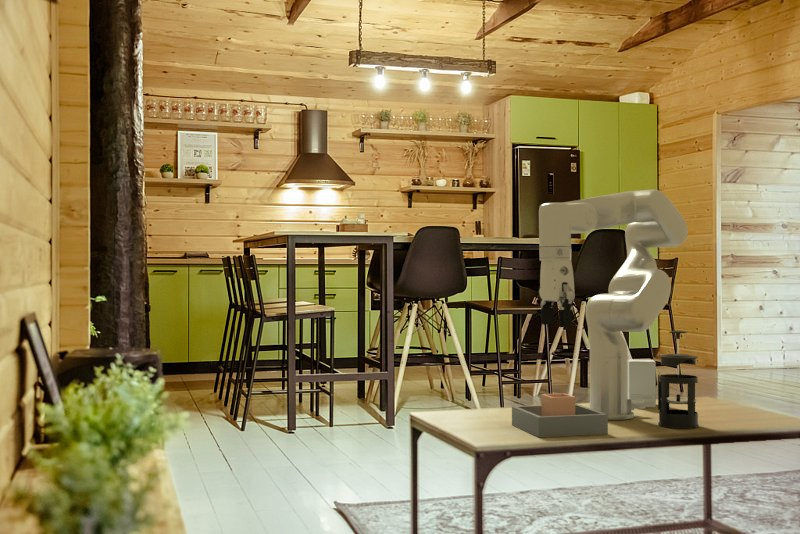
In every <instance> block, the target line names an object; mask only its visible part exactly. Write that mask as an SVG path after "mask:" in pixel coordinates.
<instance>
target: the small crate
mask: <svg viewBox="0 0 800 534" xmlns="http://www.w3.org/2000/svg"><path fill="white" fill-rule="evenodd" d="M540 395H541V405H542V416H565V415H575V404H576V396H574V395H571V394H567V393H565V392H564V393H543V394H542V393H541V394H540Z"/></svg>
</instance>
